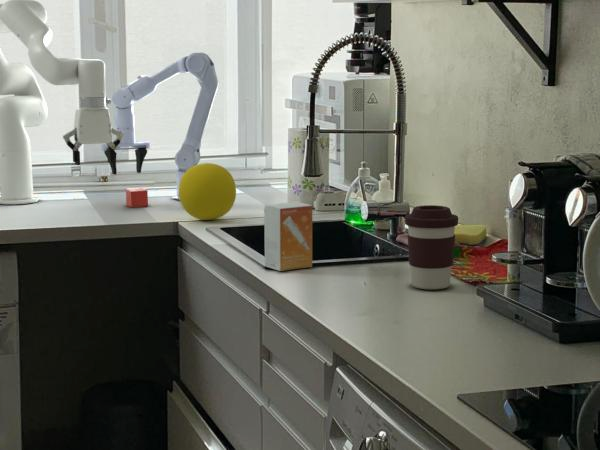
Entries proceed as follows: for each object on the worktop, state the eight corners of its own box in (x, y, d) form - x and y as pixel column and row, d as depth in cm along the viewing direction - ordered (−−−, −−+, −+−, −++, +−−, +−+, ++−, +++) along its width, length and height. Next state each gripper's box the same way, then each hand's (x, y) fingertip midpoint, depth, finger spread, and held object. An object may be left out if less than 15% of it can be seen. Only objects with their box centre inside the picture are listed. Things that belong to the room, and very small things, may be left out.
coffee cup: (400, 280, 202) (400, 204, 200) (450, 279, 203) (451, 203, 201) (409, 292, 193) (410, 212, 190) (462, 291, 193) (463, 211, 191)
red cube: (148, 206, 304) (147, 190, 303) (131, 207, 302) (130, 191, 301) (142, 204, 308) (142, 188, 307) (126, 205, 306) (125, 189, 305)
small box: (280, 271, 212) (279, 208, 209) (264, 266, 217) (263, 204, 215) (313, 267, 216) (313, 204, 214) (296, 262, 221) (296, 201, 219)
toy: (226, 213, 288) (225, 159, 285) (243, 221, 274) (242, 164, 271) (173, 217, 282) (171, 161, 280) (187, 225, 268) (186, 167, 266)
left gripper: (118, 102, 302) (119, 161, 305) (58, 103, 294) (60, 163, 298) (126, 103, 296) (127, 163, 299) (65, 105, 288) (67, 166, 291)
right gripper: (143, 126, 323) (145, 170, 325) (97, 128, 316) (99, 173, 318) (151, 128, 316) (152, 172, 319) (104, 130, 310) (106, 175, 312)
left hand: (94, 163), depth 298 cm, fingers open, 9 cm apart
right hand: (126, 173), depth 318 cm, fingers open, 7 cm apart
